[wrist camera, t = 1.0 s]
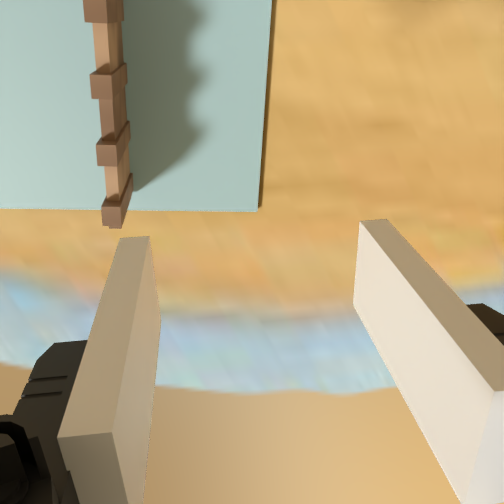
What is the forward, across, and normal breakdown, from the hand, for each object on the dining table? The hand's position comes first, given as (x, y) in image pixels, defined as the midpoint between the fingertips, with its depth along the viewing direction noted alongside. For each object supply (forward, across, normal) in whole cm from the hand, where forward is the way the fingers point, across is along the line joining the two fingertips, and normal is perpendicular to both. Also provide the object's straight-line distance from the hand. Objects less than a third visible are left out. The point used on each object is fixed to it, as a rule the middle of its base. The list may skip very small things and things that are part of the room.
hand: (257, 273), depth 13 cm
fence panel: (+16, -6, +2) cm, 17 cm away
